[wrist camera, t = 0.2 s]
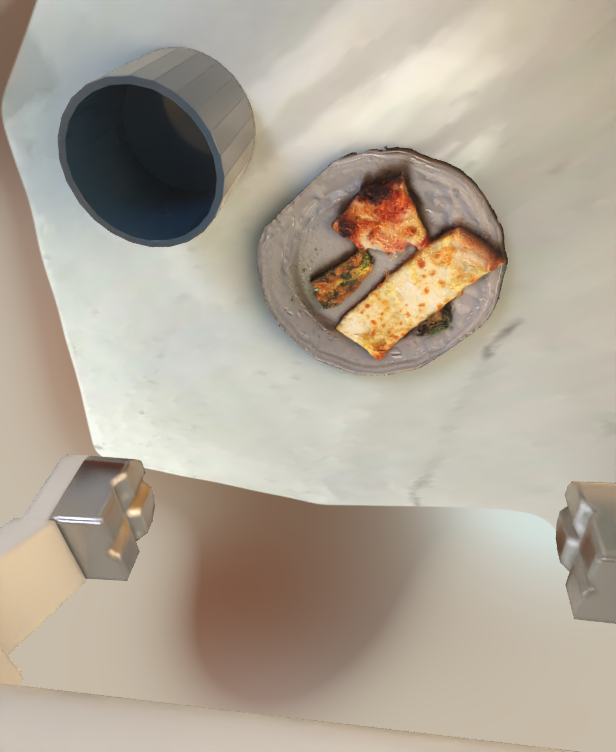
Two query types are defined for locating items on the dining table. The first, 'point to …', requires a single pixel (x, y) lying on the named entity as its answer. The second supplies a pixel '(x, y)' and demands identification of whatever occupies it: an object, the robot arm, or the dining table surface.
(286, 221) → the food plate
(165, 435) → the dining table surface
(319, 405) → the dining table surface
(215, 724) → the robot arm
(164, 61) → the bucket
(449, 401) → the dining table surface
